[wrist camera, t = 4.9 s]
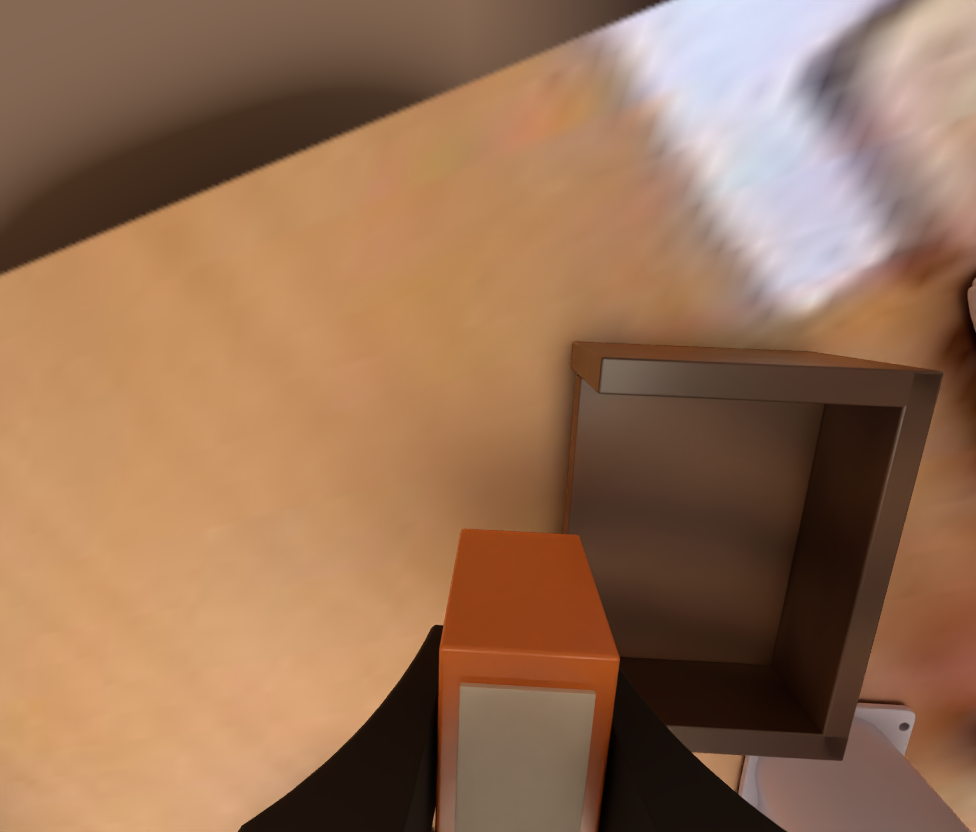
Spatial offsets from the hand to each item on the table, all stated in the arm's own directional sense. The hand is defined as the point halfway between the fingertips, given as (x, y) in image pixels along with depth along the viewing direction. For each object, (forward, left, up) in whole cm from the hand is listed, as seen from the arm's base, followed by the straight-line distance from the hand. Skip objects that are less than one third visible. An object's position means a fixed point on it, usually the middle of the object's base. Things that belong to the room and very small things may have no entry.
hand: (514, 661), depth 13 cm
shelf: (0, -7, -10) cm, 13 cm away
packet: (0, 0, -1) cm, 1 cm away
